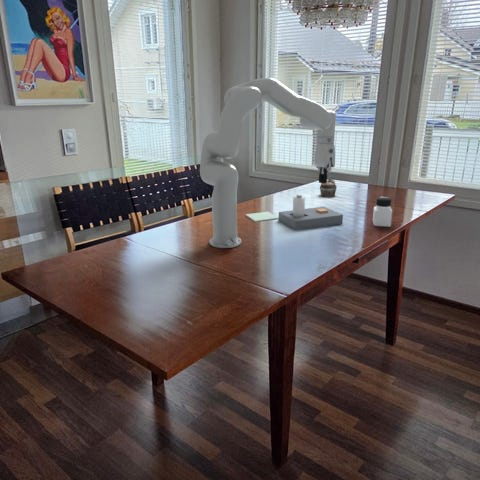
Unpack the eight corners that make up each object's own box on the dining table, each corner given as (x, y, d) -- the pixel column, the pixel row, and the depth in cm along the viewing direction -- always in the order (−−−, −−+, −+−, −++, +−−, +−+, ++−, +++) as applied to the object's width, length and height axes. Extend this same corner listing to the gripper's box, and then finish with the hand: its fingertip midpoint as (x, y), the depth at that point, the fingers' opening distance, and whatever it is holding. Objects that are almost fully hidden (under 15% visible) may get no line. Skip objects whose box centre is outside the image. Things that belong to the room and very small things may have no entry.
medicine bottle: (391, 226, 177) (393, 200, 173) (373, 226, 179) (376, 199, 175) (388, 222, 184) (391, 196, 180) (372, 221, 185) (374, 195, 181)
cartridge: (306, 224, 183) (307, 195, 179) (295, 225, 182) (296, 197, 177) (300, 221, 188) (301, 193, 184) (290, 222, 186) (291, 194, 182)
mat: (278, 218, 192) (278, 217, 192) (255, 221, 188) (255, 220, 188) (268, 212, 202) (268, 211, 202) (245, 215, 198) (245, 214, 198)
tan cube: (327, 219, 187) (327, 210, 186) (320, 220, 186) (320, 211, 185) (322, 217, 191) (323, 208, 189) (315, 218, 190) (316, 209, 188)
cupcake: (316, 194, 239) (317, 177, 235) (331, 193, 241) (332, 176, 238) (324, 198, 230) (325, 180, 227) (339, 196, 233) (340, 179, 229)
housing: (342, 223, 184) (342, 214, 182) (294, 229, 176) (295, 221, 174) (323, 214, 198) (323, 206, 196) (278, 220, 190) (278, 212, 188)
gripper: (342, 141, 171) (339, 185, 177) (323, 139, 185) (321, 179, 191) (327, 142, 169) (324, 186, 175) (309, 139, 182) (306, 180, 188)
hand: (322, 182), depth 183 cm, fingers closed
